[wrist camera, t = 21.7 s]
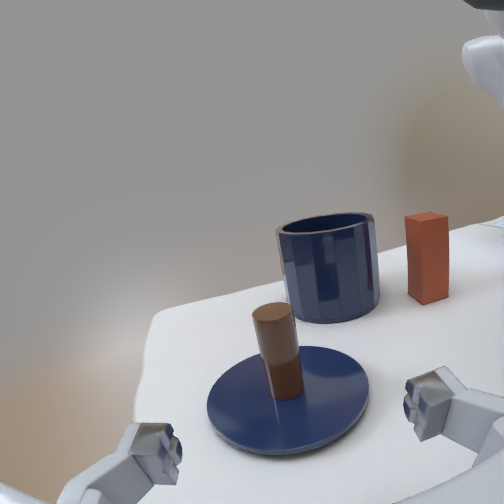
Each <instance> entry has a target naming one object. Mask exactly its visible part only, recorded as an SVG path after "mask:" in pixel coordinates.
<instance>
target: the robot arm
mask: <svg viewBox="0 0 504 504" xmlns="http://www.w3.org/2000/svg"><path fill="white" fill-rule="evenodd" d="M464 1H465V2H466V3H468V4H469V5H471V6H473V7H474V8H476V9H482V10H484V13H485V16H486V19H487V21H488V22H489V24H490V26H491V27H492V28H493V29H494V31H496V33H497V34H498V35H492V36H483V37H479V38H476V39H474V40H471V41H468V42H466V43H465V44H464V47H463V50H462V63H463V67H464V69H465V72H466V74H467V75H468V77H469V79H470V80H471V81H472V82H473V83H474V84H475V85H476V86H477V87H478V88H479V89H481V90H482V91H484V92H486V93H487V94H489V95H490V96H491V97H492V98H493V99H494V100H495V101H496V102H497V103H498V104H499V105H500V106H501V108H502V109H503V110H504V0H464ZM405 389H406V391H407V392H408V393H407V395H406V396H405V397H404V404H403V406H404V412H405V415H406V417H407V419H408V421H409V422H411V423H414V424H415V425H414V431H415V433H416V435H417V436H418V438H419V440H420V442H422V441H425V440H427V439H430V438H432V437H435V436H437V435H439V434H442V435H443V436H445V437H447V438H449V439H451V440H453V441H455V442H457V443H459V444H461V445H463V446H465V447H467V448H469V449H471V450H473V451H475V452H477V453H479V454H478V456H477V457H476V459H475V461H474V463H473V465H472V468H470V469H469V470H467V471H465V472H463V473H461V474H459V475H457V476H456V477H454V478H452V479H450V480H448V481H446V482H443V483H441V484H439V485H437V486H435V487H433V488H431V489H428V490H426V491H424V492H421V493H419V494H417V495H414V496H412V497H409V498H407V499H404V500H401V501H399V502H396V503H393V504H504V397H501V396H497V395H493V394H489V393H486V392H482V391H478V390H475V389H469V390H467V388H466V387H465V386H464V385H463V384H462V383H461V382H460V381H459V380H458V379H457V378H456V376H455V375H454V374H453V373H452V372H451V371H450V370H449V369H448V368H447V367H446V366H442V367H440V368H437V369H435V370H432V371H430V372H428V373H425V374H422V375H420V376H417V377H414V378H412V379H409V380H407V382H406V387H405ZM173 432H174V430H173V428H172V426H171V424H168V423H133V422H131V423H129V424H128V425H127V427H126V429H125V431H124V434H123V436H122V438H121V440H120V442H119V445H118V447H117V449H116V451H115V453H110V454H109V455H107V456H106V457H104V458H103V459H101V460H100V461H98V462H97V463H95V464H94V465H92V466H91V467H89V468H88V469H87V470H85V471H83V472H82V473H80V474H79V475H78V476H76V477H74V478H73V479H71V480H70V481H68V482H67V484H66V485H65V488H64V489H63V492H62V493H61V495H60V498H59V499H58V502H57V504H137V503H138V502H139V501H140V500H141V499H142V497H143V496H144V495H145V494H146V493H147V492H148V491H149V490H150V489H151V488H152V487H153V486H154V484H160V485H176V483H177V479H178V474H179V470H178V468H177V467H176V466H177V465H178V464H179V463H181V460H182V446H181V443H180V441H179V439H178V438H177V437H175V436H174V435H173ZM0 504H51V503H48V502H45V501H43V500H41V499H38V498H35V497H33V496H31V495H28V494H26V493H24V492H21V491H19V490H17V489H15V488H13V487H11V486H9V485H7V484H5V483H3V482H1V481H0Z"/></svg>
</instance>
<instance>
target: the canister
mask: <svg viewBox="0 0 504 504" xmlns="http://www.w3.org/2000/svg"><path fill="white" fill-rule="evenodd" d="M275 233H276V238H277V243H278V250H279V255H280V261H281V267H282V273H283V279H284V284H285V290H286V296H287V302H288V304H290V305H291V306H292V307H293V312H294V316H295V317H297V318H298V319H301V320H304V321H307V322H312V323H337V322H344V321H348V320H352V319H355V318H358V317H360V316H363V315H365V314H367V313H368V312H370V311H371V310H372V309H374V308H375V307H376V305H377V304H378V302H379V297H380V288H379V270H378V256H377V246H376V245H377V244H376V234H375V224H374V218H373V216H372V215H371V214H367V213H357V212H349V213H334V214H326V215H318V216H313V217H308V218H303V219H299V220H296V221H292V222H288V223H286V224H284V225H281V226H279V227H278V228H277V229H276V230H275Z"/></svg>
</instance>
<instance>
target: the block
mask: <svg viewBox="0 0 504 504" xmlns="http://www.w3.org/2000/svg"><path fill="white" fill-rule="evenodd" d="M405 228H406V242H407V261H408V294H410V295H411V296H412V297H413V298H415V299H416V300H417V301H419V302H420V303H421V304H422V305H424V304H427V303H431V302H434V301H437V300H440V299H443V298H446V297H448V289H449V230H448V216H444V215H440V214H436V213H432V212H429V213H422V214H417V215H411V216H406V217H405Z"/></svg>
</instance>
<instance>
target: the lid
mask: <svg viewBox="0 0 504 504" xmlns="http://www.w3.org/2000/svg"><path fill="white" fill-rule="evenodd" d="M252 318H253V322H254V327H255V332H256V336H257V341H258V345H259V350H260V354H257V355H255V356H252V357H249V358H247V359H245V360H243V361H241V362H240V363H238V364H236V365H234V366H233V367H232V368H230V369H229V370H227V371H226V372H225V373H224V374H223V375H222V376H221V377H220V378H219V379H218V380H217V381H216V383H215V384H214V385H213V387H212V389H211V391H210V393H209V396H208V400H207V412H208V416H209V419H210V422H211V424H212V426H213V427H214V429H215V430H216V432H217V433H218V434H219V435H220V436H221V437H222V438H223V439H225V440H226V441H227V442H229V443H231V444H232V445H234V446H236V447H238V448H240V449H243V450H246V451H249V452H253V453H258V454H264V455H290V454H297V453H302V452H306V451H309V450H313V449H316V448H319V447H321V446H323V445H325V444H328V443H330V442H332V441H333V440H335V439H337V438H338V437H340V436H341V435H343V434H344V433H345V432H346V431H348V430H349V429H350V428H351V427H352V426H353V425H354V424H355V423H356V422H357V420H358V419H359V417H360V416H361V415H362V413H363V411H364V409H365V407H366V404H367V401H368V396H369V383H368V378H367V375H366V373H365V371H364V370H363V368H362V367H361V366H360V364H359V363H358V362H356V361H355V360H354V359H353V358H351V357H349V356H348V355H346V354H344V353H341V352H339V351H336V350H333V349H328V348H324V347H316V346H299V345H298V338H297V331H296V324H295V318H294V312H293V307H292V306H291V305H290V304H288V303H282V302H276V303H270V304H266V305H263V306H260V307H258V308H257V309H255V310H254V312H253V313H252Z"/></svg>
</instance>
